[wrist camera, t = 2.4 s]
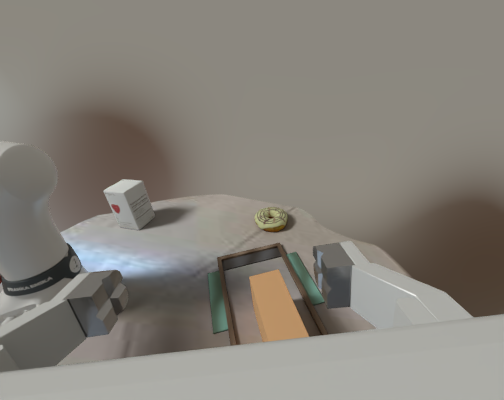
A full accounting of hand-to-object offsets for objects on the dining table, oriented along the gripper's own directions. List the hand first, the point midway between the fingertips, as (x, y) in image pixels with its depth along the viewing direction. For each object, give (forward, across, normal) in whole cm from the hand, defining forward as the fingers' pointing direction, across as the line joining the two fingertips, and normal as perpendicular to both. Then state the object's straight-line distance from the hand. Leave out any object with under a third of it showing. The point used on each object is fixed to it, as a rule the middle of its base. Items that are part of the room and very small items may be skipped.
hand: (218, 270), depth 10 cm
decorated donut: (+61, +6, -29) cm, 68 cm away
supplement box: (+70, -42, -26) cm, 86 cm away
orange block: (+25, +3, -35) cm, 43 cm away
